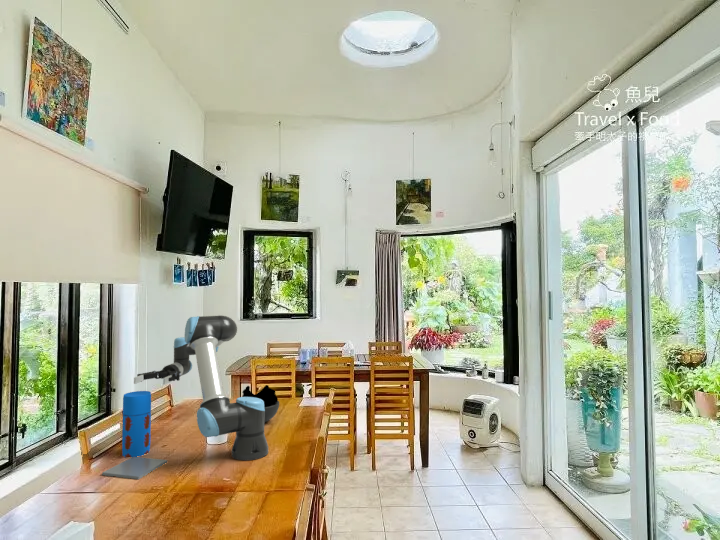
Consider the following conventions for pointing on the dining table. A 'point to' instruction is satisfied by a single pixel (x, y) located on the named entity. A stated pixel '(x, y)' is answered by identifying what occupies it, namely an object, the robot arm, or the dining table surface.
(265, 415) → the coal bowl
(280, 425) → the dining table surface
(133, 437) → the thermos
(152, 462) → the slate tile
